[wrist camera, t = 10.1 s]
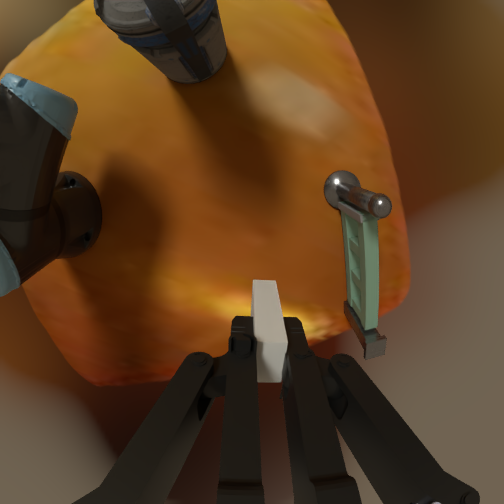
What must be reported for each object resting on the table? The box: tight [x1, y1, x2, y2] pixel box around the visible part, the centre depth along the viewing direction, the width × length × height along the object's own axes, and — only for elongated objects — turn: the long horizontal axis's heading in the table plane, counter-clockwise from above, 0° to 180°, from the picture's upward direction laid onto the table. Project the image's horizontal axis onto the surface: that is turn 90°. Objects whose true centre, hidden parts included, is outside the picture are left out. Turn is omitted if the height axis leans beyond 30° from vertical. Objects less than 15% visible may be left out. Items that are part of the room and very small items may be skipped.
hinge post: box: [324, 170, 392, 219], centre depth 33 cm, size 6×6×15 cm
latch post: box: [344, 301, 387, 360], centre depth 41 cm, size 3×3×13 cm
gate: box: [338, 201, 379, 330], centre depth 38 cm, size 17×3×9 cm, turn 11°
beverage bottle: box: [94, 0, 227, 84], centre depth 21 cm, size 10×13×25 cm
